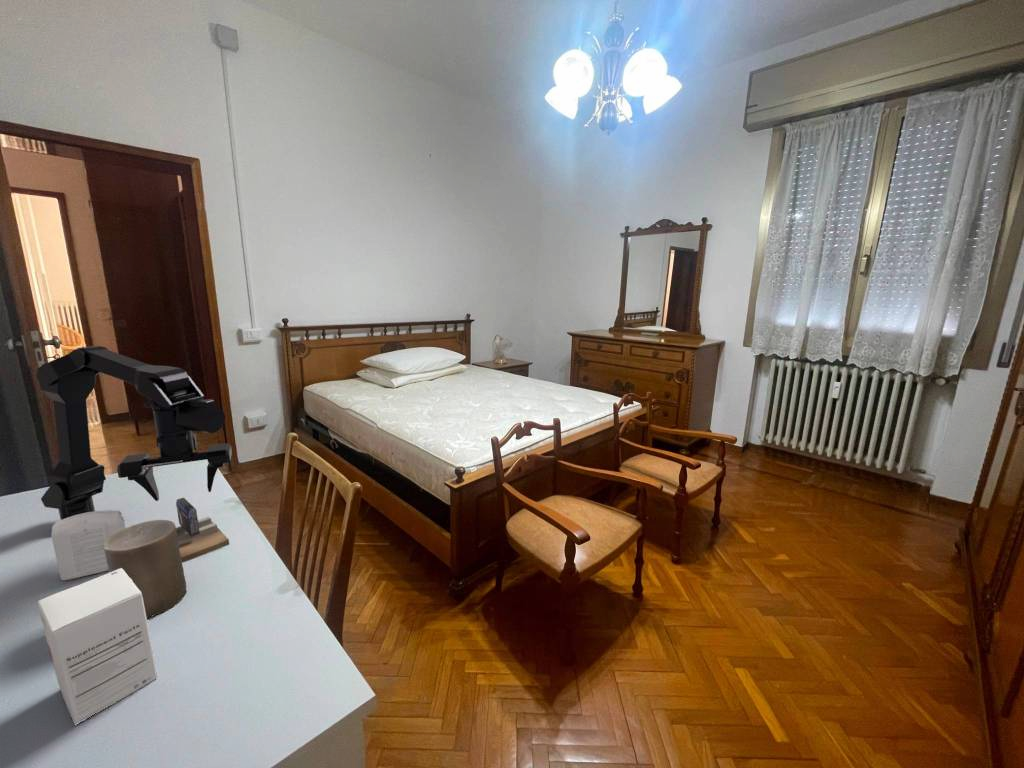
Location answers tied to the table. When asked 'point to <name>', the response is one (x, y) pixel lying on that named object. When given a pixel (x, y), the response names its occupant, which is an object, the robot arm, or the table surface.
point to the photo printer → (84, 542)
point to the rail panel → (200, 540)
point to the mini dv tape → (187, 517)
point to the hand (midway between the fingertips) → (184, 495)
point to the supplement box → (98, 642)
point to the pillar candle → (149, 562)
